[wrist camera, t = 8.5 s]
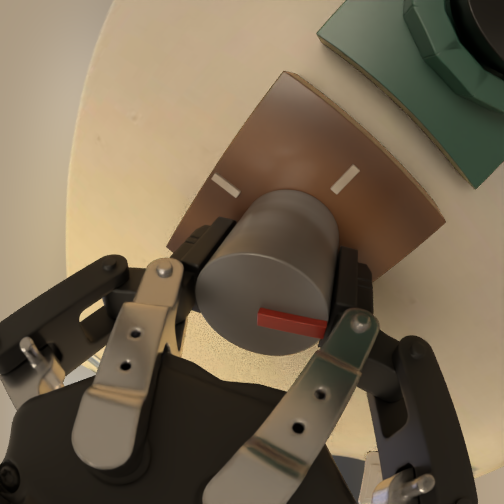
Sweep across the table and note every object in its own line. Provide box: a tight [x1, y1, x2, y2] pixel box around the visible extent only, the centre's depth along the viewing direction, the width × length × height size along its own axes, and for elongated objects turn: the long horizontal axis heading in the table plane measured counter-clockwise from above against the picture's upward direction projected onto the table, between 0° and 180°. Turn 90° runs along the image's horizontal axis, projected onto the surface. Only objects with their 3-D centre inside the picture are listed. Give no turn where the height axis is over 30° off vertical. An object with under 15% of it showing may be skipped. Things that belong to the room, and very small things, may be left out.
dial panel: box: [166, 71, 446, 282], centre depth 14 cm, size 11×9×3 cm
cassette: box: [358, 452, 383, 504], centre depth 24 cm, size 12×2×8 cm, turn 100°
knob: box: [195, 190, 339, 356], centre depth 11 cm, size 4×4×5 cm
